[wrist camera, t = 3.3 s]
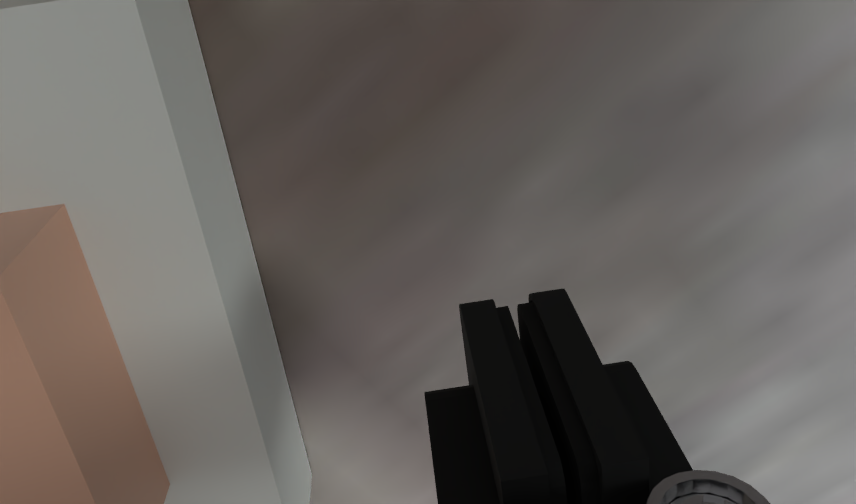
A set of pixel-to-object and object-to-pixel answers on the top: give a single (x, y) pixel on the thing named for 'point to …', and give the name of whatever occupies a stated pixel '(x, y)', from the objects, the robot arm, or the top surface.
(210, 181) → the plate
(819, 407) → the top surface
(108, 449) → the tile
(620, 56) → the top surface
